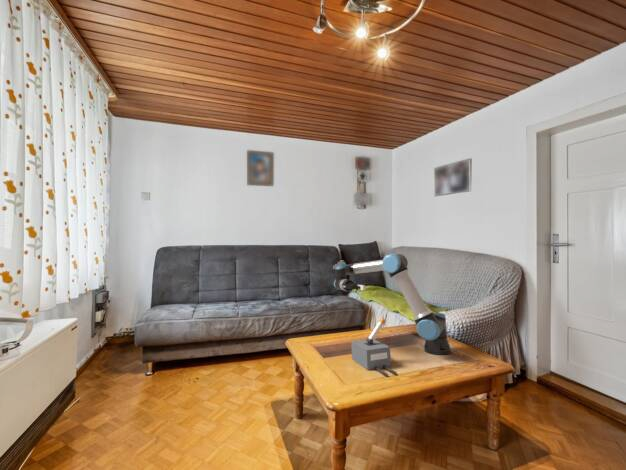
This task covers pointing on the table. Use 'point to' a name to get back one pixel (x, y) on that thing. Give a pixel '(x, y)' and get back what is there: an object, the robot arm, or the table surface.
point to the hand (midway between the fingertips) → (364, 287)
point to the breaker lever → (375, 330)
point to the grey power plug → (372, 355)
